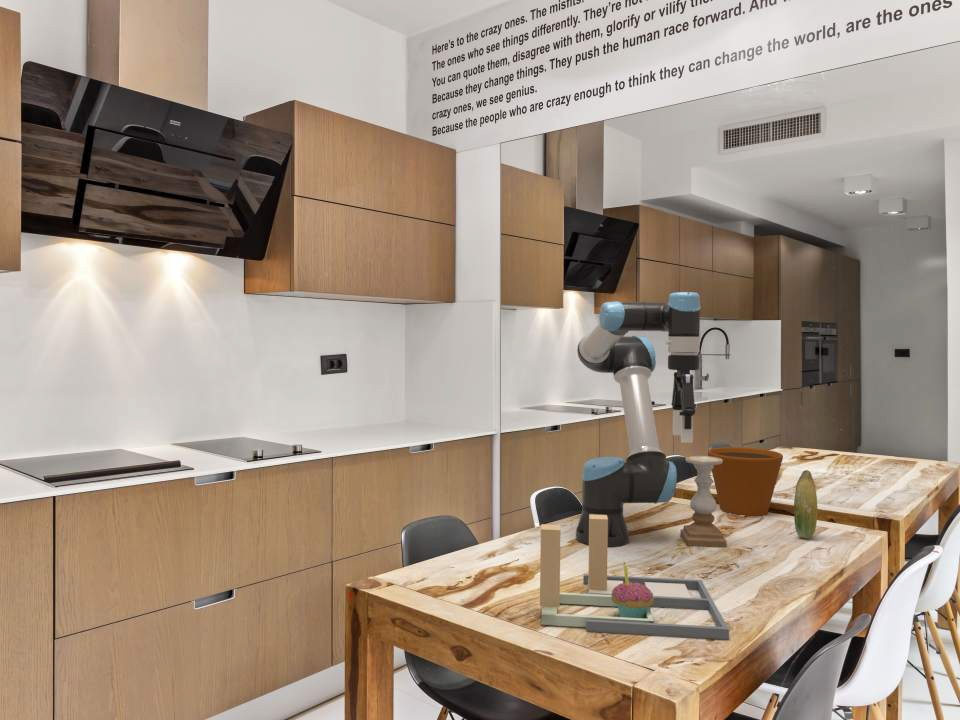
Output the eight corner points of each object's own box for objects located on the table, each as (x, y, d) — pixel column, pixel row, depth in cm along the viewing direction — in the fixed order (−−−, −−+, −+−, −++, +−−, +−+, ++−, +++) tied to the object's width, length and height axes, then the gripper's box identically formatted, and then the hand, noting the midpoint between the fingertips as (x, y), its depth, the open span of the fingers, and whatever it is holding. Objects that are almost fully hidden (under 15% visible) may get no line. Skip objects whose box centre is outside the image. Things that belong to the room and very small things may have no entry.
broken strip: (589, 599, 154) (590, 522, 153) (587, 584, 164) (588, 511, 163) (692, 605, 151) (693, 526, 151) (684, 589, 161) (685, 514, 161)
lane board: (586, 631, 138) (586, 621, 138) (583, 582, 165) (583, 574, 165) (728, 639, 134) (729, 629, 134) (701, 588, 162) (701, 580, 162)
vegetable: (821, 540, 202) (823, 471, 202) (805, 542, 200) (806, 473, 199) (805, 535, 208) (806, 468, 207) (788, 537, 206) (790, 469, 205)
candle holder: (717, 536, 206) (719, 455, 205) (727, 547, 195) (728, 462, 194) (679, 535, 207) (680, 454, 206) (686, 546, 196) (688, 461, 195)
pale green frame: (538, 624, 140) (539, 535, 140) (541, 600, 153) (542, 518, 153) (653, 631, 138) (655, 540, 137) (646, 606, 150) (647, 523, 150)
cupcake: (625, 628, 139) (626, 568, 139) (603, 613, 147) (603, 556, 147) (661, 622, 142) (662, 564, 142) (637, 607, 150) (638, 552, 150)
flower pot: (792, 511, 238) (793, 452, 237) (766, 524, 220) (767, 461, 220) (723, 500, 254) (724, 445, 253) (694, 511, 236) (695, 452, 236)
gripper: (661, 353, 188) (660, 431, 189) (675, 354, 164) (674, 445, 164) (690, 353, 188) (689, 432, 188) (708, 355, 163) (707, 446, 163)
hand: (682, 438), depth 176 cm, fingers open, 13 cm apart
